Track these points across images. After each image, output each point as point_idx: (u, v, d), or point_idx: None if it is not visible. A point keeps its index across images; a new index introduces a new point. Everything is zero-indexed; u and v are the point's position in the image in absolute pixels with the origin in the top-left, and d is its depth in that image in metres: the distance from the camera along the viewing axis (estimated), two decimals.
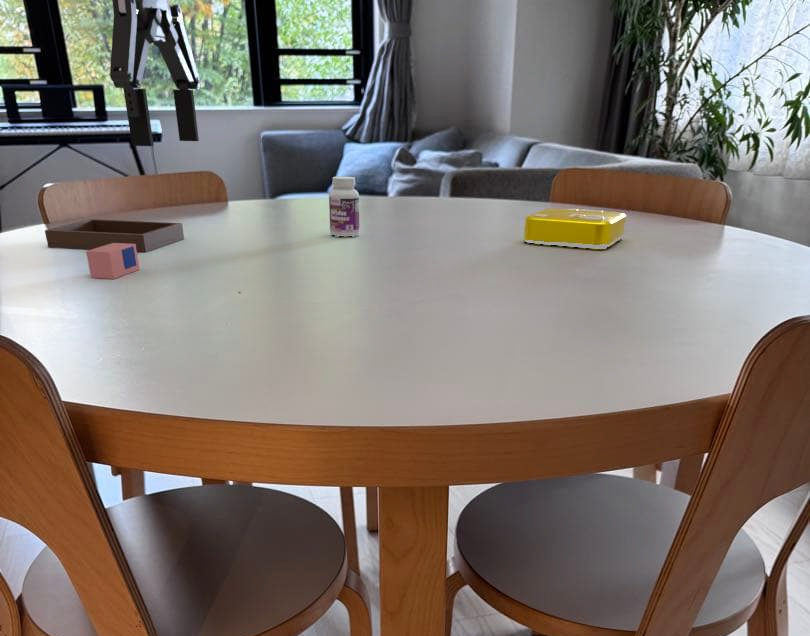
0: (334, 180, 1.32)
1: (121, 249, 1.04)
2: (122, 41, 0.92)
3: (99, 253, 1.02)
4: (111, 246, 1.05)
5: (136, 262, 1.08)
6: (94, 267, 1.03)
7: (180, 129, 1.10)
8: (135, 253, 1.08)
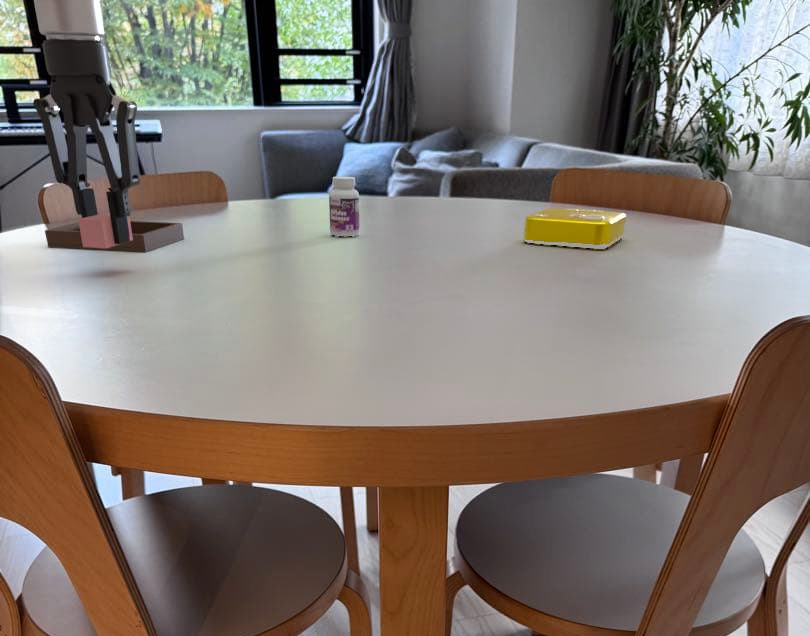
0: (334, 180, 1.32)
1: None
2: (133, 149, 0.98)
3: (91, 221, 1.00)
4: (104, 215, 1.04)
5: (130, 232, 1.06)
6: (86, 236, 1.01)
7: None
8: (128, 223, 1.06)
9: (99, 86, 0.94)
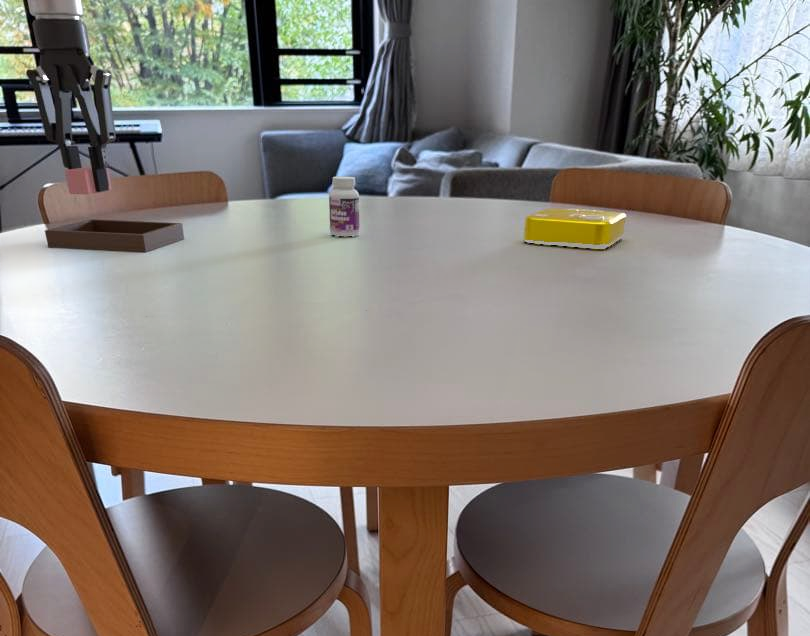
0: (334, 180, 1.32)
1: None
2: (109, 110, 1.18)
3: (76, 171, 1.20)
4: (87, 168, 1.24)
5: (109, 183, 1.27)
6: (72, 184, 1.21)
7: None
8: (107, 175, 1.26)
9: (79, 57, 1.14)
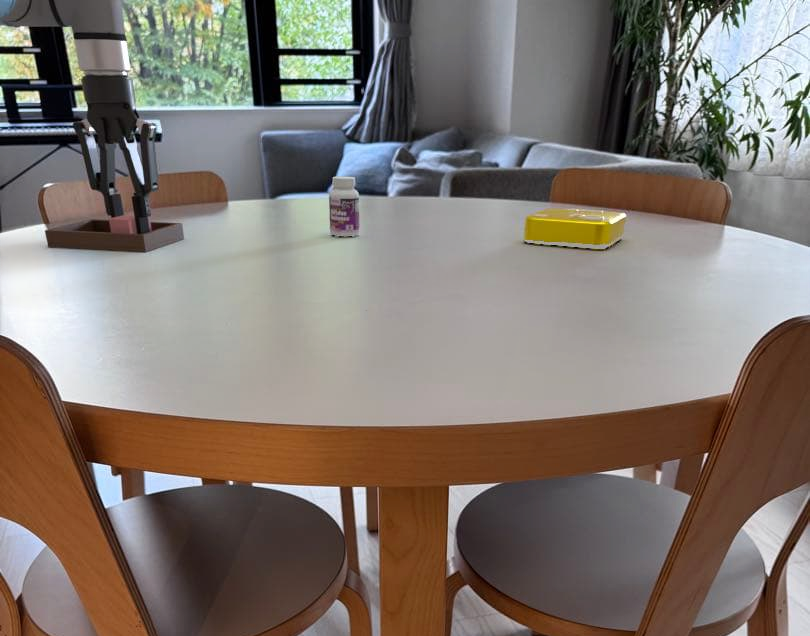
0: (334, 180, 1.32)
1: None
2: (153, 161, 1.20)
3: (119, 220, 1.23)
4: (129, 215, 1.26)
5: (150, 229, 1.29)
6: (115, 232, 1.24)
7: None
8: (149, 222, 1.28)
9: (126, 111, 1.16)
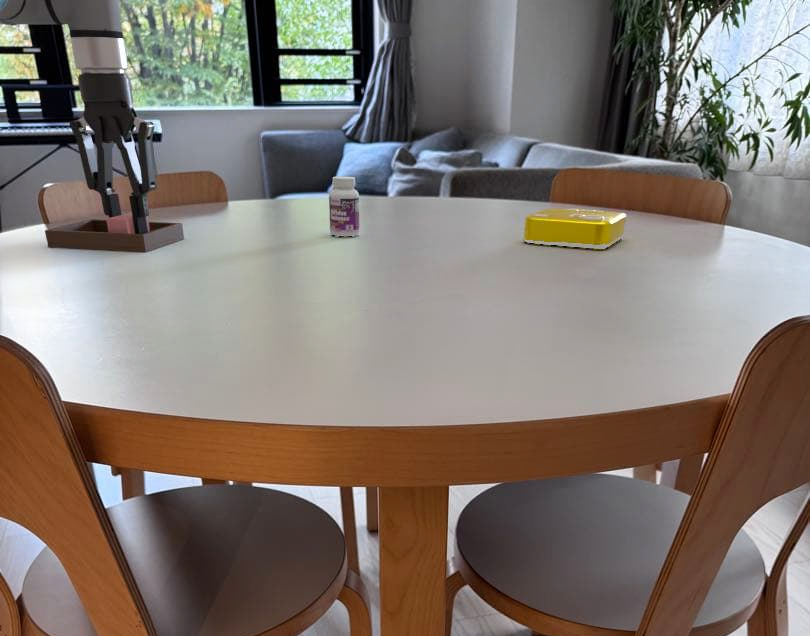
0: (334, 180, 1.32)
1: None
2: (151, 160, 1.19)
3: (117, 220, 1.21)
4: (127, 215, 1.25)
5: (148, 229, 1.28)
6: (113, 232, 1.22)
7: None
8: (147, 222, 1.27)
9: (123, 110, 1.15)
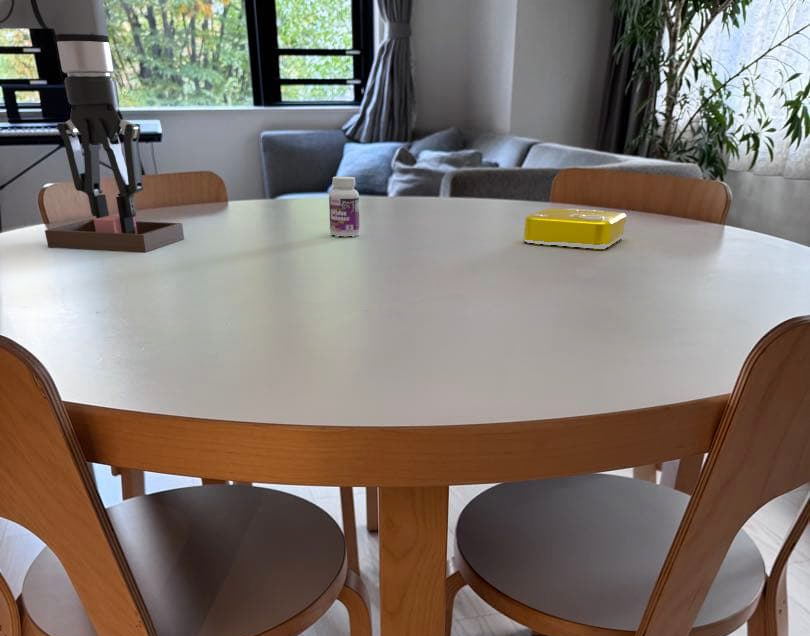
0: (334, 180, 1.32)
1: None
2: (137, 162, 1.21)
3: (104, 221, 1.23)
4: (114, 216, 1.27)
5: (135, 229, 1.30)
6: None
7: None
8: (134, 222, 1.29)
9: (109, 112, 1.17)
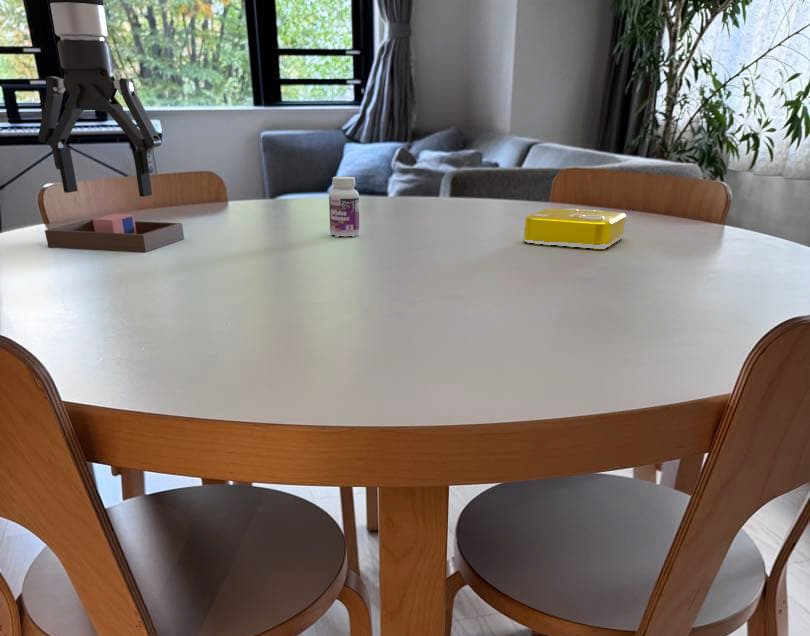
0: (334, 180, 1.32)
1: (122, 218, 1.26)
2: (144, 115, 1.17)
3: (103, 221, 1.23)
4: (113, 216, 1.27)
5: (134, 230, 1.30)
6: None
7: (67, 182, 1.24)
8: (133, 222, 1.29)
9: (103, 78, 1.15)
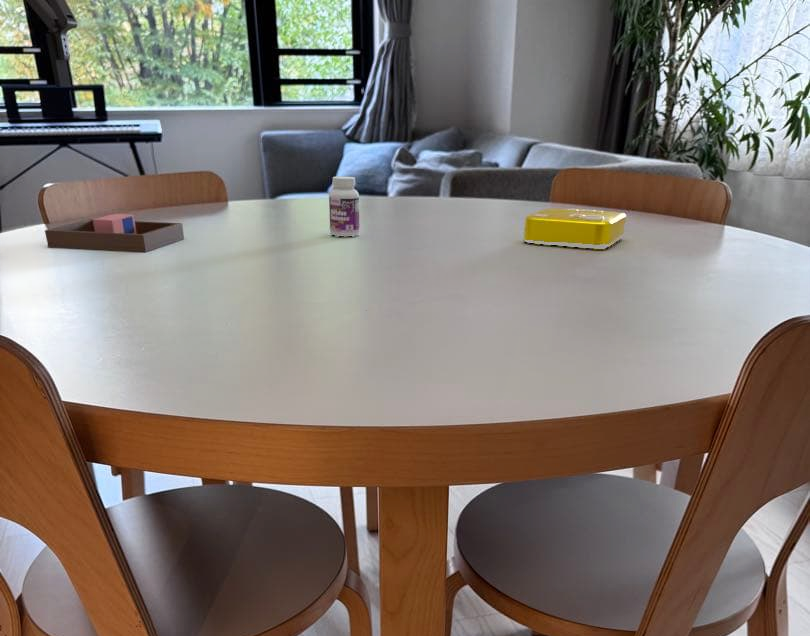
0: (334, 180, 1.32)
1: (122, 218, 1.26)
2: None
3: (103, 221, 1.23)
4: (113, 216, 1.27)
5: (134, 230, 1.30)
6: None
7: None
8: (133, 222, 1.29)
9: None
